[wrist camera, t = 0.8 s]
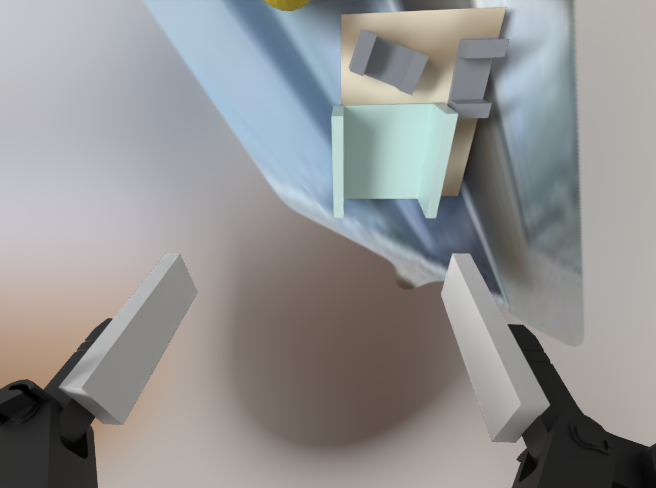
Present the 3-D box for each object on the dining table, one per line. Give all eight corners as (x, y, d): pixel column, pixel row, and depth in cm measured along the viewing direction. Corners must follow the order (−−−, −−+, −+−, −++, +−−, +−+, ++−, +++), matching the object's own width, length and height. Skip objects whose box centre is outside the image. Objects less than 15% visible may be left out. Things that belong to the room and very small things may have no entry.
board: (341, 15, 25) (340, 14, 24) (500, 8, 24) (506, 7, 23) (342, 192, 35) (341, 196, 34) (454, 191, 34) (458, 196, 33)
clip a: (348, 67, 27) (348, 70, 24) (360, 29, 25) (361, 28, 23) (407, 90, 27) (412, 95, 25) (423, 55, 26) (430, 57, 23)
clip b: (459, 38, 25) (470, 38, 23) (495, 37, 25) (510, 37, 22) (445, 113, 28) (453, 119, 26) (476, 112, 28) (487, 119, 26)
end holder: (333, 104, 28) (331, 116, 24) (442, 102, 28) (458, 113, 24) (335, 196, 34) (333, 218, 30) (425, 196, 34) (435, 217, 30)
